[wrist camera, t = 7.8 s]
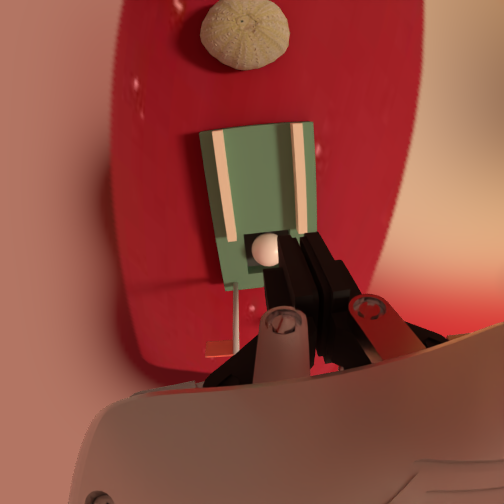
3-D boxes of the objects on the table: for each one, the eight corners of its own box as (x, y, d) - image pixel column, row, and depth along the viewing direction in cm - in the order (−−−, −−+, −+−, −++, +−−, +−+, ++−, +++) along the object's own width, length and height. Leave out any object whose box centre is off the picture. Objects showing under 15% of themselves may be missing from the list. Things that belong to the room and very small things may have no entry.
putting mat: (188, 133, 29) (152, 151, 17) (308, 121, 29) (357, 131, 16) (215, 283, 38) (207, 363, 26) (312, 272, 38) (342, 346, 26)
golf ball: (254, 274, 34) (251, 250, 37) (287, 271, 34) (282, 246, 37) (251, 252, 31) (249, 227, 34) (288, 248, 31) (282, 224, 34)
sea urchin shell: (233, 90, 25) (198, 36, 18) (211, 59, 28) (180, 14, 20) (310, 54, 23) (292, -5, 16) (276, 27, 26) (256, -22, 19)
